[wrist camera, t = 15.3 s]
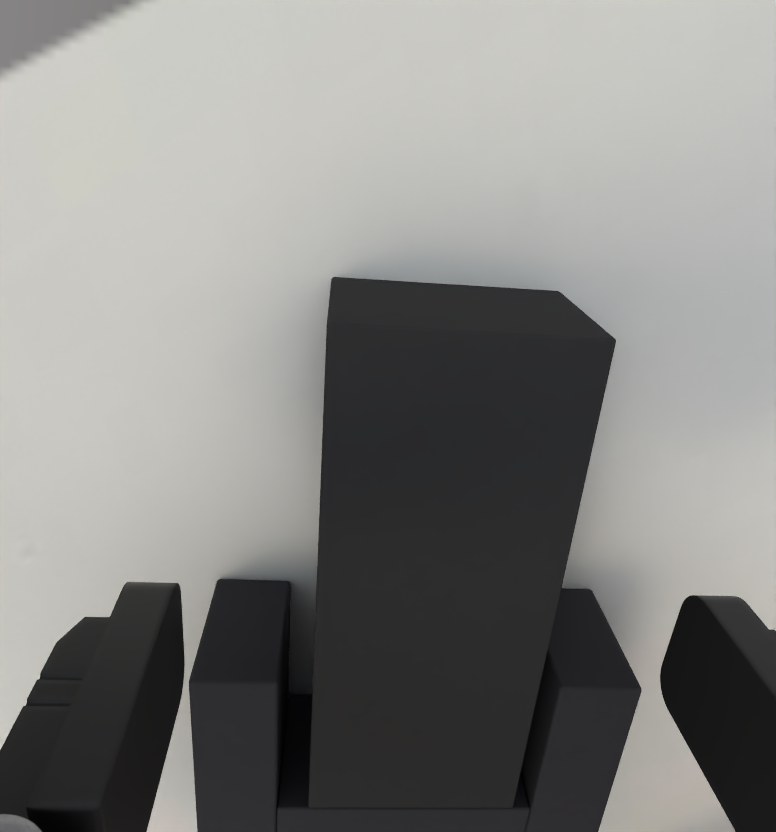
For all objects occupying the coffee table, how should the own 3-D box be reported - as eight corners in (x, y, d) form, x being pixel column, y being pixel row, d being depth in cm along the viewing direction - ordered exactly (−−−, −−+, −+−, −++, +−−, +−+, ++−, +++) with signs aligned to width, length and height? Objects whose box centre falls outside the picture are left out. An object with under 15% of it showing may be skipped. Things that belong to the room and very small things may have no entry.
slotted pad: (225, 832, 22) (203, 957, 18) (217, 577, 17) (187, 681, 14) (531, 831, 22) (562, 951, 19) (591, 588, 18) (643, 689, 15)
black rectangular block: (486, 695, 20) (513, 808, 16) (314, 693, 19) (308, 808, 16) (559, 290, 15) (617, 339, 12) (331, 276, 14) (326, 322, 11)
